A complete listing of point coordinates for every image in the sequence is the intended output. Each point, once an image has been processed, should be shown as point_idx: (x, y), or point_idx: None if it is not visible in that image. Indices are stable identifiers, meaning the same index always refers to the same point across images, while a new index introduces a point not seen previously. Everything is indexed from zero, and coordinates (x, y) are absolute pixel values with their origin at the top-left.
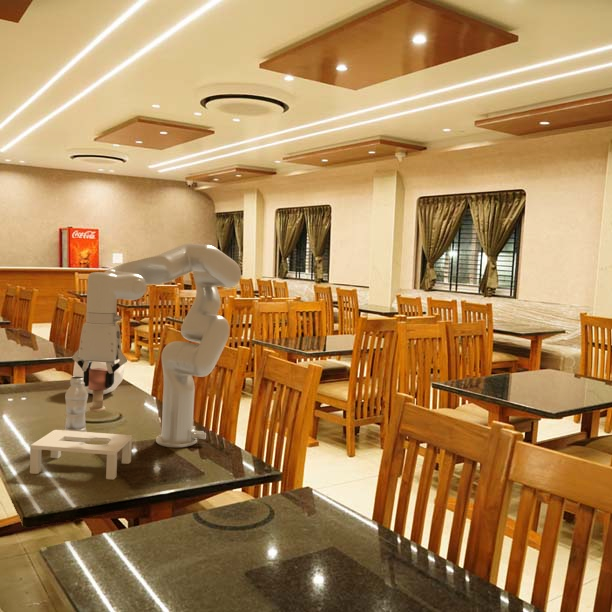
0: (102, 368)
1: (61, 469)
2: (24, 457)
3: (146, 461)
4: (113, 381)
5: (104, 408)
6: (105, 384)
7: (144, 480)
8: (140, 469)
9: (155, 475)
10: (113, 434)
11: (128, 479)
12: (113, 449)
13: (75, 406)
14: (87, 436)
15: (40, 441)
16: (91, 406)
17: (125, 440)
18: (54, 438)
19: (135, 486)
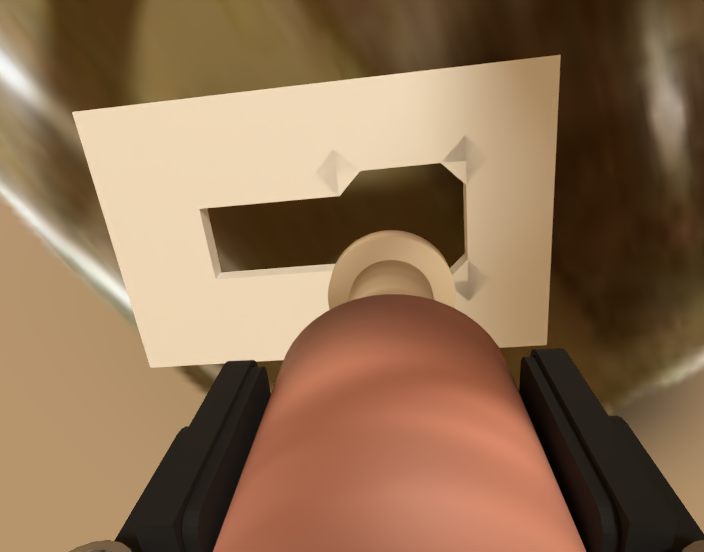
0: (392, 518)
1: (275, 245)
2: (57, 164)
3: (594, 33)
4: (628, 440)
5: (455, 300)
6: None
7: (636, 264)
8: (590, 151)
9: (673, 201)
10: (437, 80)
11: (569, 270)
12: (531, 323)
13: None
14: (312, 171)
15: (152, 315)
16: (331, 289)
17: (549, 170)
18: (179, 257)
19: (613, 324)
